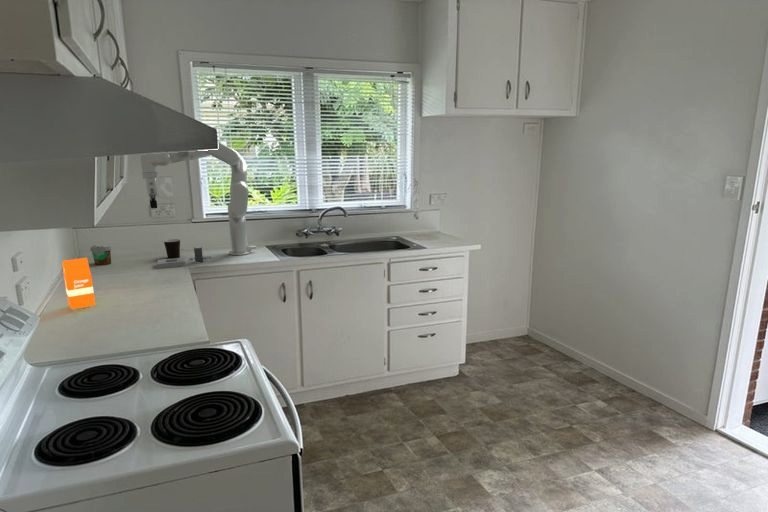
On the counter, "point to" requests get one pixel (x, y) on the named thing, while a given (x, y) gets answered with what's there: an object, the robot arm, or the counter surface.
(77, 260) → the orange juice
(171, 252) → the coffee mug
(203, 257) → the phone
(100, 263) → the food container
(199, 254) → the charger
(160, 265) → the outlet plate
